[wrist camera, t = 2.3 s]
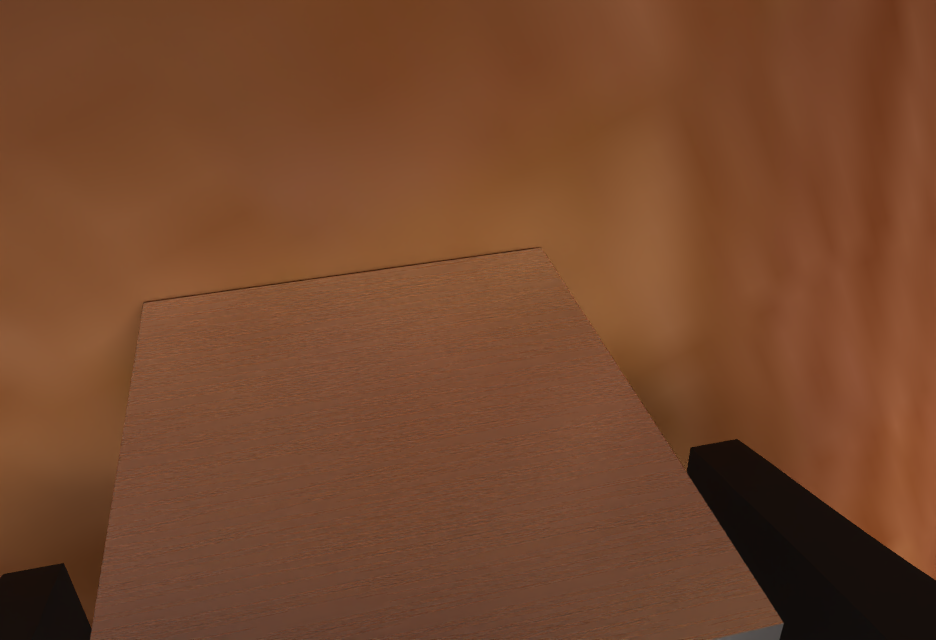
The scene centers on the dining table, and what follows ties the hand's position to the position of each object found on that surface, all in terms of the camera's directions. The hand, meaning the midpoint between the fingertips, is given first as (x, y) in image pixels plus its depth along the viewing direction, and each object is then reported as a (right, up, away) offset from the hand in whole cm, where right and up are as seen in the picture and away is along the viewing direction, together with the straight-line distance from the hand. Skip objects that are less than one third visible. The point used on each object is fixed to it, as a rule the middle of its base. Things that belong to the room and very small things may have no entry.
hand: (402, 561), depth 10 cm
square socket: (-1, +1, +2) cm, 3 cm away
